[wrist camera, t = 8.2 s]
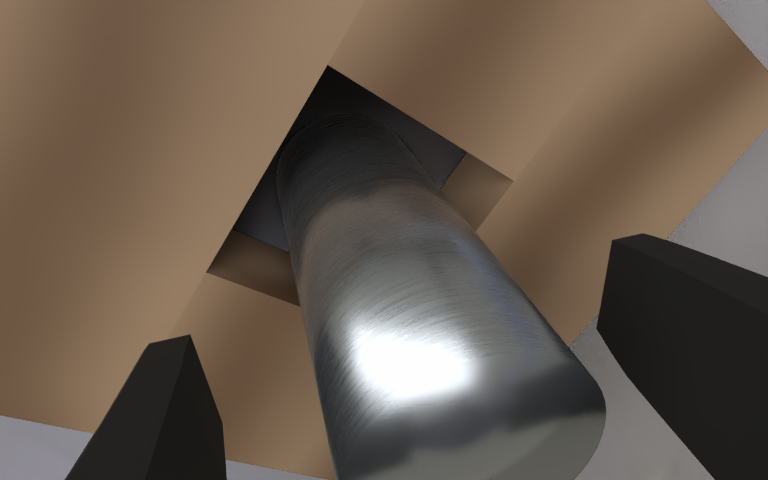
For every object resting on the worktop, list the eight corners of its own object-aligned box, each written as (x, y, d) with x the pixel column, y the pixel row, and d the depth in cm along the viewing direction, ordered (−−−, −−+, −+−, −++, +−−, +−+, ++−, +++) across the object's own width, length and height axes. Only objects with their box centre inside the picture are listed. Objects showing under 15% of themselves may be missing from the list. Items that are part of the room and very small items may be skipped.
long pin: (403, 100, 14) (623, 321, 6) (413, 222, 16) (590, 503, 8) (262, 125, 13) (316, 404, 6) (290, 248, 15) (358, 578, 8)
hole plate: (717, 74, 16) (792, 98, 14) (409, 440, 21) (430, 499, 18) (181, -476, 8) (168, -609, 6) (-105, 308, 13) (-166, 382, 11)
